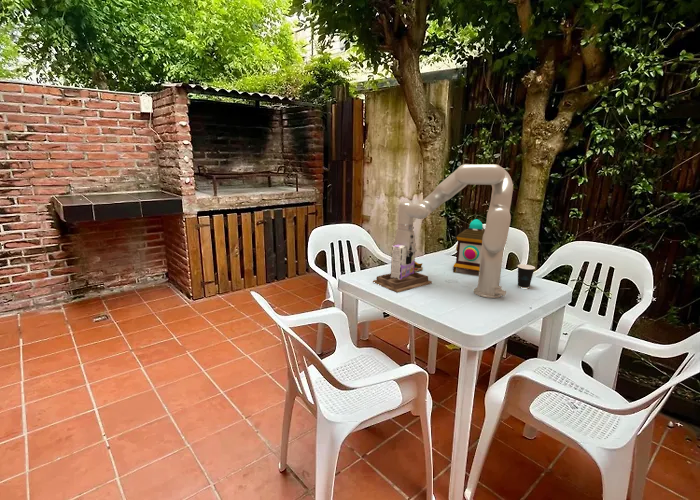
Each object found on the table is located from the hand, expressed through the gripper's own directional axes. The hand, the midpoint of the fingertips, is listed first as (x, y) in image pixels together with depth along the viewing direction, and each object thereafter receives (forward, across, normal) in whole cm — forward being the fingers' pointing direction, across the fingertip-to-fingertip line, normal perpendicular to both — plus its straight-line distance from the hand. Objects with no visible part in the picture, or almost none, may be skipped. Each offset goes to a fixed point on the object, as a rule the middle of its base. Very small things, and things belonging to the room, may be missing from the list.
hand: (403, 261), depth 186 cm
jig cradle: (+11, 0, 0) cm, 11 cm away
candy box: (+8, 0, 0) cm, 8 cm away
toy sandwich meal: (+12, +16, -22) cm, 30 cm away
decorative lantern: (+11, -7, -48) cm, 50 cm away
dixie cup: (+11, -39, -46) cm, 61 cm away
